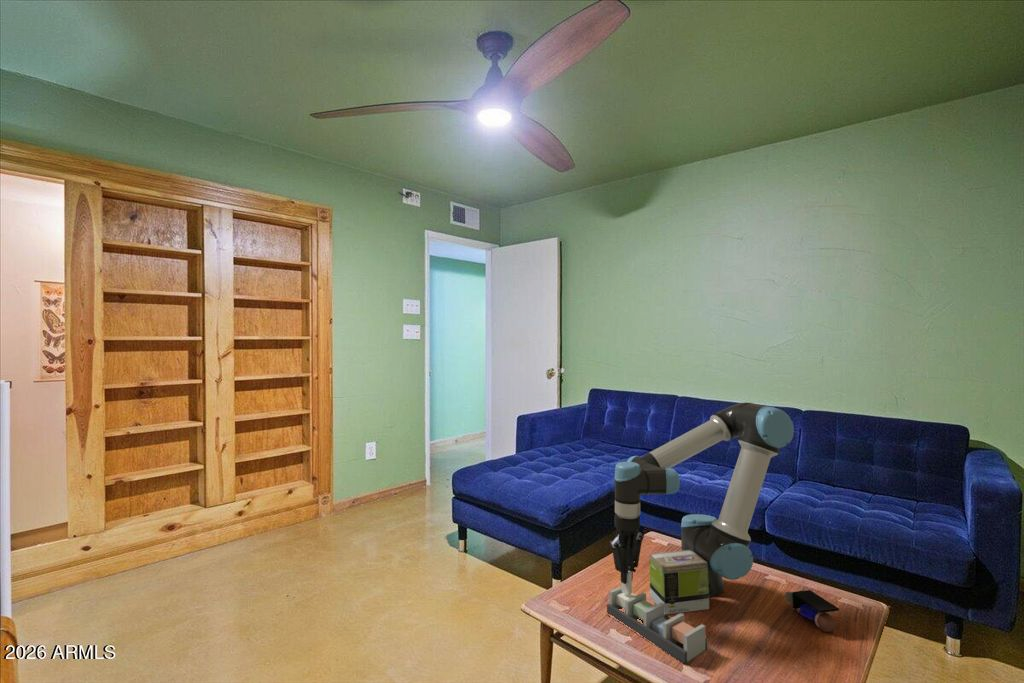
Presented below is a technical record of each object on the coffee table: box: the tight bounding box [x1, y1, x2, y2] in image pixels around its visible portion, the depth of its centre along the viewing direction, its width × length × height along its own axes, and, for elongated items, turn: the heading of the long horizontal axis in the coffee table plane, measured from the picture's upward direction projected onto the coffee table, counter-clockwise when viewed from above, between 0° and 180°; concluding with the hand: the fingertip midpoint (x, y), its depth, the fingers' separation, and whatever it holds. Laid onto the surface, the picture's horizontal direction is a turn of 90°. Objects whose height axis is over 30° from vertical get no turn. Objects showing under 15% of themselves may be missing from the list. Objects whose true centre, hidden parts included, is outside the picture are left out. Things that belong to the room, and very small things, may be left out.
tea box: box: [649, 550, 710, 615], centre depth 148 cm, size 15×10×15 cm, turn 100°
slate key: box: [652, 617, 667, 636], centre depth 132 cm, size 5×5×3 cm
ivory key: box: [616, 592, 637, 609], centre depth 143 cm, size 5×5×3 cm
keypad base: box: [606, 585, 708, 665], centre depth 135 cm, size 10×27×7 cm, turn 35°
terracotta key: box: [672, 621, 695, 644], centre depth 126 cm, size 5×5×3 cm
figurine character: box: [784, 589, 840, 633], centre depth 140 cm, size 7×8×15 cm
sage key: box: [633, 600, 655, 620], centre depth 137 cm, size 5×5×3 cm
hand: (626, 592), depth 143 cm, fingers closed
